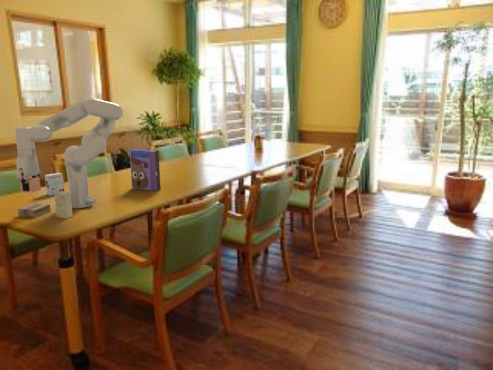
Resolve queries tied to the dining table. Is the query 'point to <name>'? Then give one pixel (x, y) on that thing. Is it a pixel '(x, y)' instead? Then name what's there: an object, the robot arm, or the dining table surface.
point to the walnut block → (34, 210)
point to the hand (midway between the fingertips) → (31, 189)
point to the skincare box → (63, 204)
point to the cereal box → (145, 169)
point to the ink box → (54, 183)
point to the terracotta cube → (32, 185)
